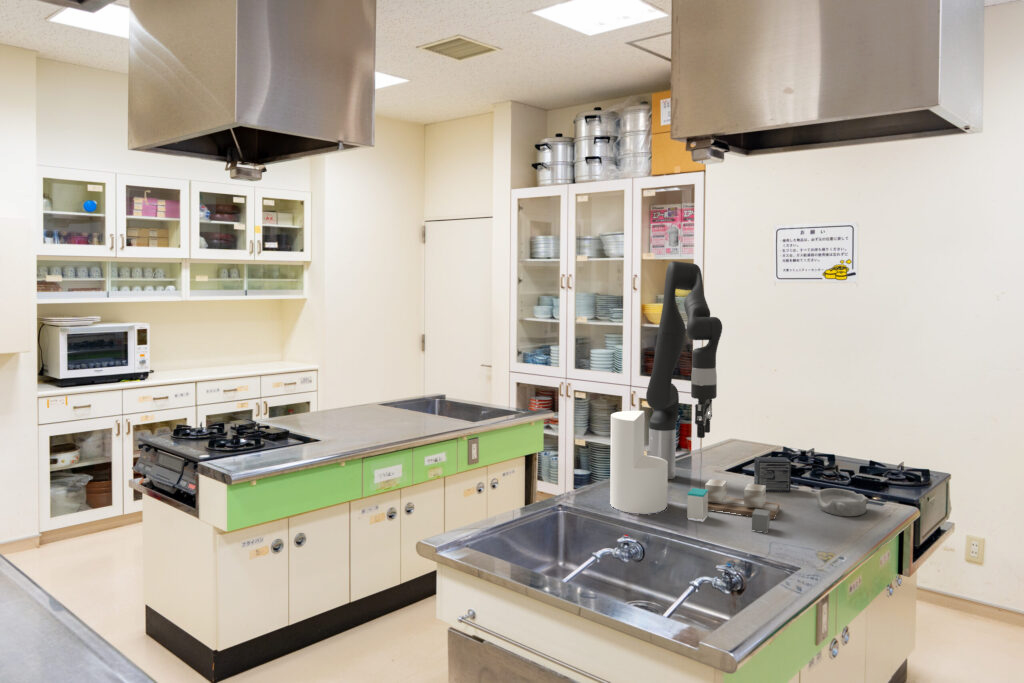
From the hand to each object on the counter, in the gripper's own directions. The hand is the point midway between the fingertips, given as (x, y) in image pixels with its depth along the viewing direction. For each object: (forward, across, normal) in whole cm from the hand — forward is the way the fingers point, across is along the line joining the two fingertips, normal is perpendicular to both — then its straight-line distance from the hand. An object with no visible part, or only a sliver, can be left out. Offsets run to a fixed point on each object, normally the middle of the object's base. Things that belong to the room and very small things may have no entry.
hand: (703, 435), depth 230 cm
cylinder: (+22, +9, -18) cm, 30 cm away
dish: (+22, -12, +39) cm, 46 cm away
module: (+22, +14, +1) cm, 26 cm away
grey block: (+22, +17, +19) cm, 34 cm away
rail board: (+22, 0, +10) cm, 24 cm away
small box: (+22, -25, +18) cm, 38 cm away
